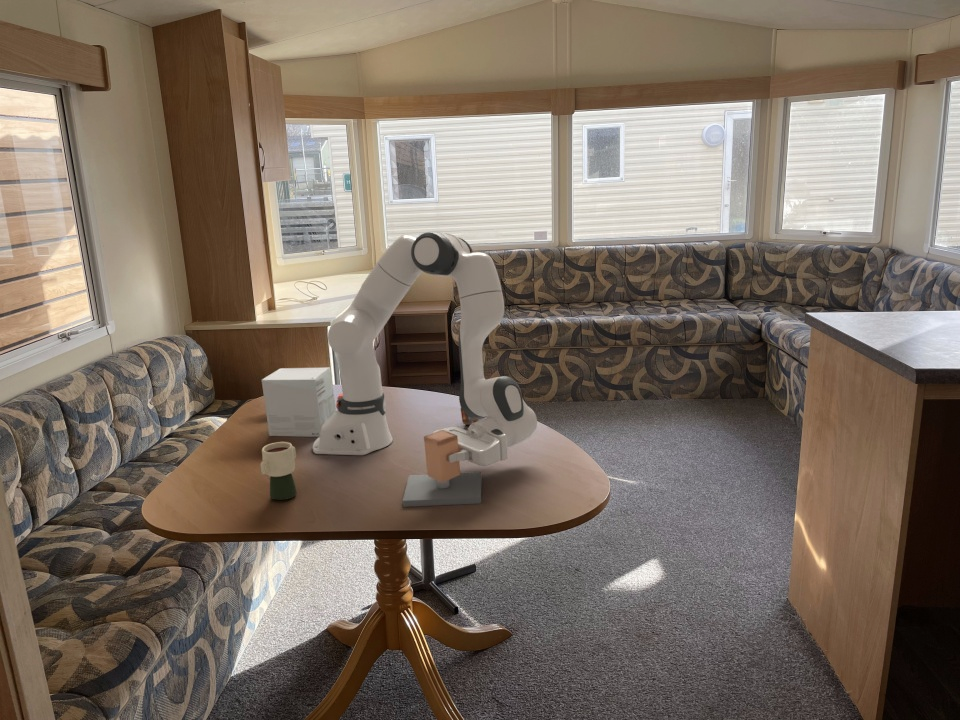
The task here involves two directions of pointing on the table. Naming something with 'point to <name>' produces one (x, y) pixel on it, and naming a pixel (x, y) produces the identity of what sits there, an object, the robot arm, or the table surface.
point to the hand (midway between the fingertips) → (439, 455)
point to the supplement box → (298, 401)
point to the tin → (467, 419)
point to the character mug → (279, 469)
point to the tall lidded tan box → (441, 455)
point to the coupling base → (443, 490)
